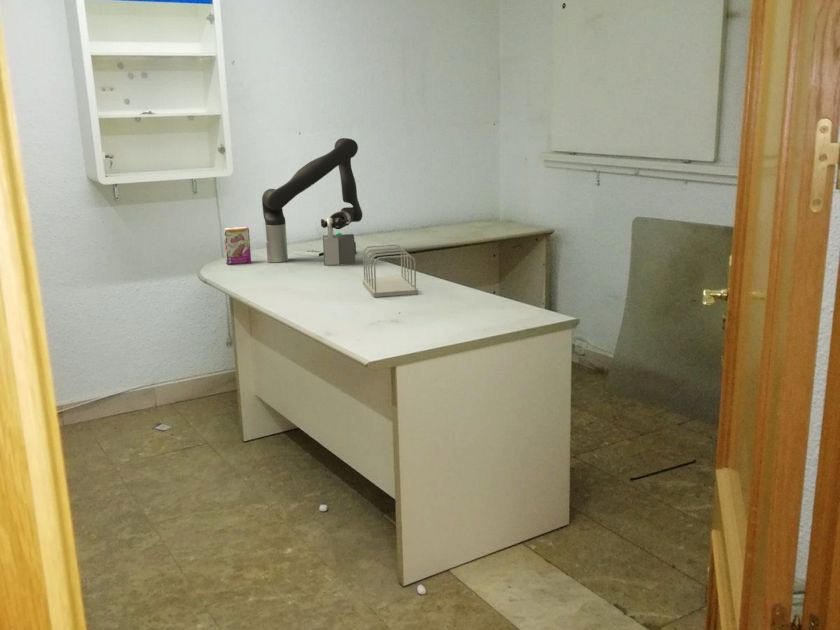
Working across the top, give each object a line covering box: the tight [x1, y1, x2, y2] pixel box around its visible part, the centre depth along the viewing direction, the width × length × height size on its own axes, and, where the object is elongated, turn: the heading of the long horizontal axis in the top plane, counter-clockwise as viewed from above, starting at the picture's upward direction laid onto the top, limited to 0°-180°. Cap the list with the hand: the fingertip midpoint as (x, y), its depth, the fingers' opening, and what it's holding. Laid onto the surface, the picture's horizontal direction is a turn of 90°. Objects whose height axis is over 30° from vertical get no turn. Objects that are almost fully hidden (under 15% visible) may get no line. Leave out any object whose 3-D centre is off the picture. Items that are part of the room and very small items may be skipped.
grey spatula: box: [323, 217, 339, 266], centre depth 367 cm, size 6×2×21 cm, turn 97°
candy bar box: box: [222, 226, 252, 266], centre depth 378 cm, size 11×5×16 cm, turn 113°
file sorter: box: [362, 244, 419, 298], centre depth 320 cm, size 25×17×16 cm
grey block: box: [322, 233, 357, 266], centre depth 374 cm, size 15×10×12 cm
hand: (327, 225), depth 362 cm, fingers open, 3 cm apart
